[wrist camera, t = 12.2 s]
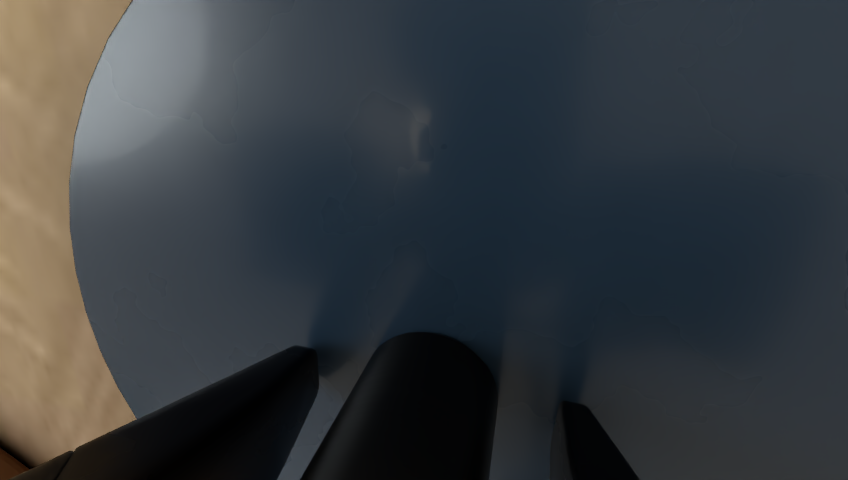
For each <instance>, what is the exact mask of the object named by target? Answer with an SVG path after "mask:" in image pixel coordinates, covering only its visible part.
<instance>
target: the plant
mask: <svg viewBox="0 0 848 480" xmlns="http://www.w3.org/2000/svg"><path fill="white" fill-rule="evenodd" d="M28 470H29V469H28V468H27V467H25V466H24V465H23V464H22V463H20V462H19V461H18V460H16V459H15V458H13V457H12V456H11V455H9V454H8V453H7V452H5V451H4V450H2V449H1V448H0V480H8V479H10V478H13V477H15V476H17V475H19V474H21V473H24V472H26V471H28Z"/></svg>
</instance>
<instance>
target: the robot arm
mask: <svg viewBox="0 0 848 480" xmlns="http://www.w3.org/2000/svg"><path fill="white" fill-rule="evenodd" d="M318 390H319V369H318V356H317V352H316V350H314V349H313V348H309V347H304V346H299V345H294V346H291V347H289V348H287V349H285V350H283V351H281V352H279V353H276V354H274V355H272V356H270V357H268V358H266V359H264V360H262V361H260V362H257V363H255V364H253V365H251V366H249V367H247V368H245V369H243V370H240V371H238V372H236V373H234V374H232V375H230V376H228V377H226V378H224V379H221V380H219V381H217V382H215V383H213V384H211V385H209V386H207V387H204V388H202V389H200V390H198V391H196V392H194V393H192V394H190V395H187V396H185V397H183V398H181V399H179V400H177V401H175V402H173V403H171V404H168V405H166V406H164V407H162V408H160V409H158V410H156V411H154V412H151V413H149V414H147V415H145V416H143V417H141V418H139V419H137V420H134V421H132V422H130V423H128V424H126V425H124V426H122V427H120V428H118V429H115V430H113V431H111V432H109V433H107V434H105V435H103V436H101V437H98V438H96V439H94V440H92V441H90V442H88V443H86V444H84V445H81V446H79V447H78V448H76V449H75V451H74V452H73V451H69V452H66V453H64V454H62V455H60V456H58V457H56V458H54V459H52V460H49V461H47V462H45V463H43V464H41V465H39V466H37V467H34V468H32V469H30V470H28V471H26V472H24V473H21V474H19V475H17V476H15V477H13V478H10V479H8V480H277V479H278V477H279V475H280V473H281V471H282V469H283V467H284V465H285V463H286V461H287V459H288V457H289V455H290V453H291V451H292V448H293V446H294V444H295V442H296V440H297V438H298V435H299V433H300V431H301V429H302V427H303V425H304V423H305V420H306V418H307V416H308V414H309V412H310V410H311V408H312V405H313V403H314V401H315V399H316V397H317V394H318ZM550 480H640V479H639V477H638V476H637V475H636V473H635V472H634V470H633V469H632V468H631V466H630V465H629V463H628V462H627V461H626V459H625V458H624V456H623V455H622V454H621V452H620V451H619V449H618V448H617V447H616V445H615V444H614V442H613V441H612V440H611V438H610V437H609V435H608V434H607V432H606V431H605V430H604V428H603V427H602V425H601V424H600V423H599V421H598V420H597V418H596V417H595V416H594V414H593V413H592V411H591V410H590V409H589V408H588V407H587V406H586V405H584V404H580V403H575V402H570V401H561V402H560V404H559V407H558V411H557V416H556V420H555V425H554V430H553V434H552V439H551V448H550Z"/></svg>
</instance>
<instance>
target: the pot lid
mask: <svg viewBox="0 0 848 480" xmlns="http://www.w3.org/2000/svg"><path fill="white" fill-rule="evenodd" d="M69 202H70V233H71V240H72V247H73V255H74V262H75V269H76V274H77V278H78V282H79V286H80V290H81V294H82V298H83V302H84V306H85V310H86V313H87V316H88V319H89V321H90V324H91V327H92V330H93V332H94V335H95V338H96V340H97V343H98V346H99V349H100V351H101V353H102V355H103V357H104V359H105V362H106V364H107V366H108V368H109V370H110V372H111V374H112V376H113V378H114V380H115V382H116V384H117V386H118V388H119V390H120V392H121V393H122V395H123V397H124V398H125V400H126V402H127V403H128V405H129V407H130V408H131V410H132V412H133V413H134V415H135V417H136V418H137V419H139V418H141V417H143V416H145V415H147V414H149V413H151V412H154V411H156V410H158V409H160V408H162V407H164V406H166V405H168V404H171V403H173V402H175V401H177V400H179V399H181V398H183V397H185V396H187V395H190V394H192V393H194V392H196V391H198V390H200V389H202V388H204V387H207V386H209V385H211V384H213V383H215V382H217V381H219V380H221V379H224V378H226V377H228V376H230V375H232V374H234V373H236V372H238V371H240V370H243V369H245V368H247V367H249V366H251V365H253V364H255V363H257V362H260V361H262V360H264V359H266V358H268V357H270V356H272V355H274V354H276V353H279V352H281V351H283V350H285V349H287V348H289V347H291V346H294V345H299V346H304V347H309V348H313V349H314V350H316V352H317V356H318V369H319V390H318V394H317V397H316V399H315V401H314V403H313V405H312V408H311V410H310V412H309V414H308V416H307V418H306V420H305V423H304V425H303V427H302V429H301V431H300V433H299V435H298V438H297V440H296V442H295V444H294V446H293V448H292V451H291V453H290V455H289V457H288V459H287V461H286V463H285V465H284V467H283V469H282V471H281V473H280V475H279V477H278V479H277V480H550V448H551V439H552V434H553V430H554V425H555V420H556V416H557V411H558V407H559V404H560V402H561V401H570V402H575V403H580V404H584V405H586V406H587V407H588V408H589V409H590V410H591V411H592V413H593V414H594V416H595V417H596V418H597V420H598V421H599V423H600V424H601V425H602V427H603V428H604V430H605V431H606V432H607V434H608V435H609V437H610V438H611V440H612V441H613V442H614V444H615V445H616V447H617V448H618V449H619V451H620V452H621V454H622V455H623V456H624V458H625V459H626V461H627V462H628V463H629V465H630V466H631V468H632V469H633V470H634V472H635V473H636V475H637V476H638V477H639V479H640V480H848V0H132V1H131V3H130V4H129V6H128V8H127V9H126V11H125V12H124V14H123V16H122V17H121V19H120V20H119V22H118V23H117V25H116V27H115V28H114V30H113V31H112V33H111V34H110V36H109V38H108V40H107V43H106V45H105V47H104V50H103V52H102V54H101V56H100V59H99V61H98V63H97V66H96V68H95V70H94V73H93V75H92V77H91V80H90V82H89V84H88V87H87V91H86V94H85V98H84V102H83V106H82V110H81V113H80V117H79V121H78V125H77V129H76V132H75V138H74V146H73V155H72V163H71V172H70V180H69Z"/></svg>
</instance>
